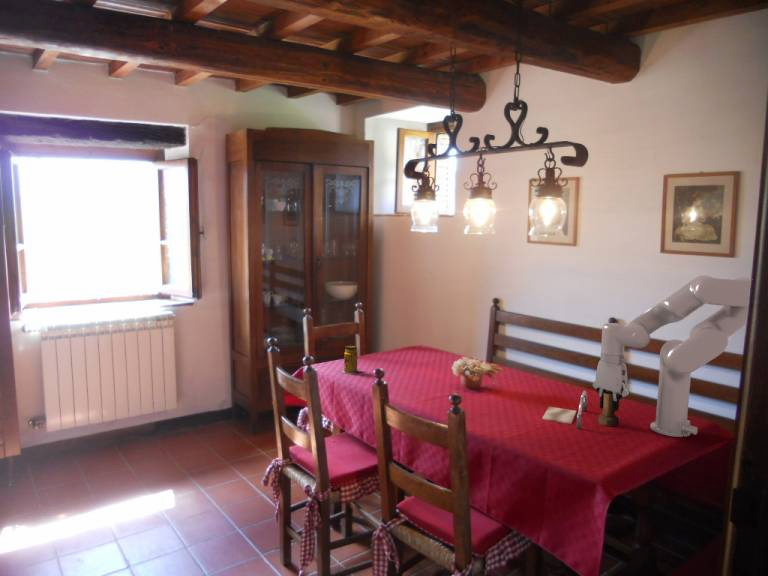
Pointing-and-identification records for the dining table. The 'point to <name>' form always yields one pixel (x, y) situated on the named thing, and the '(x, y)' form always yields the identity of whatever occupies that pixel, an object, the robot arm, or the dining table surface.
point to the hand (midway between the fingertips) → (609, 408)
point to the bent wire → (581, 408)
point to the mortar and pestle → (608, 411)
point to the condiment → (350, 360)
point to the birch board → (559, 415)
